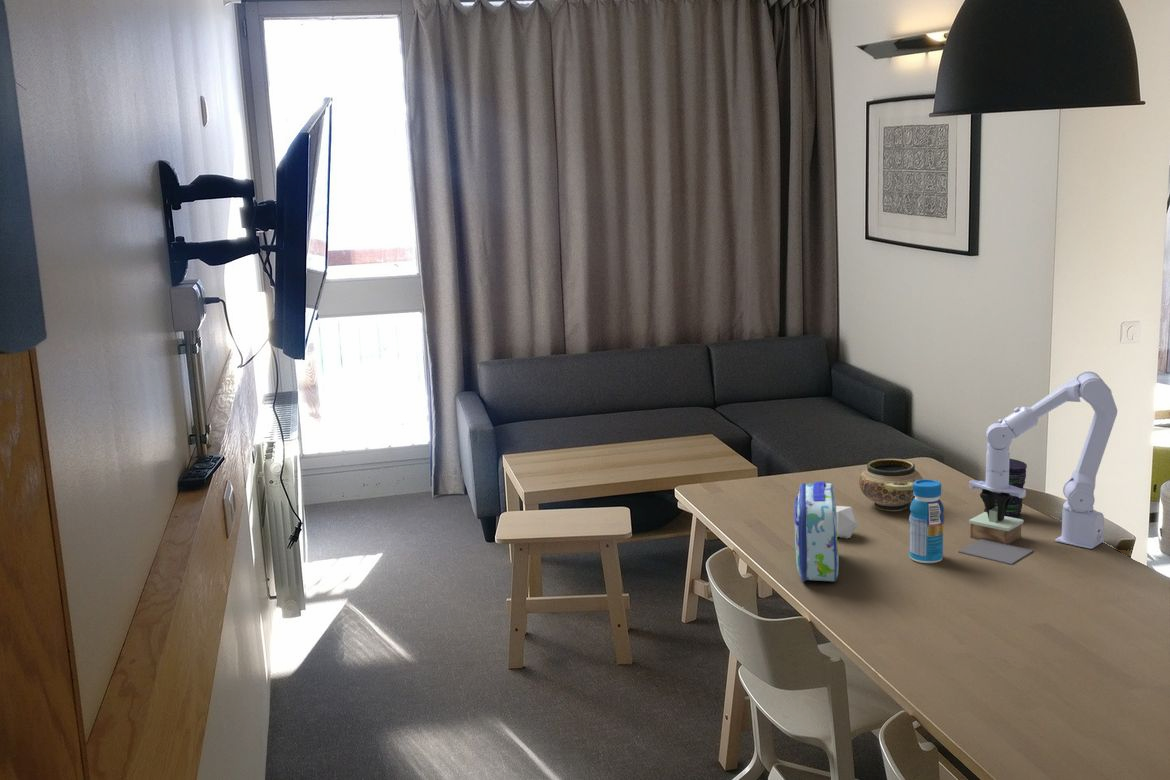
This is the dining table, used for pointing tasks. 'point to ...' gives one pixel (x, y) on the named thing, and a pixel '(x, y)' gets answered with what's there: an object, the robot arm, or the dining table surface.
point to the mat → (996, 551)
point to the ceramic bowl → (889, 483)
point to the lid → (996, 521)
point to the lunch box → (816, 532)
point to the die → (845, 521)
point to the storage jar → (1018, 480)
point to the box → (995, 534)
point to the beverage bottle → (926, 522)
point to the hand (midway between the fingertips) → (996, 518)
